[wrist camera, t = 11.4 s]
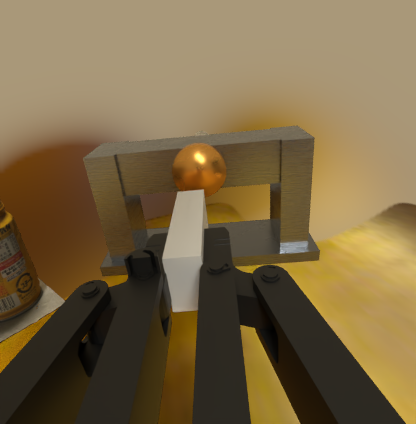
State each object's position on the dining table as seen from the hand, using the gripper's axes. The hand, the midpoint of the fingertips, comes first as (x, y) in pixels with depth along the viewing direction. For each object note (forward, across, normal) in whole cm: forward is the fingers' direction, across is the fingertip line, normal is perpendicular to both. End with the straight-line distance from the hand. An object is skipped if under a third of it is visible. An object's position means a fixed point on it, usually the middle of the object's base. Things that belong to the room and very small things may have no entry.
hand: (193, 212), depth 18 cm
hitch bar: (+15, 0, +13) cm, 20 cm away
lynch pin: (+19, 0, +4) cm, 19 cm away
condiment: (+7, +20, +13) cm, 25 cm away
